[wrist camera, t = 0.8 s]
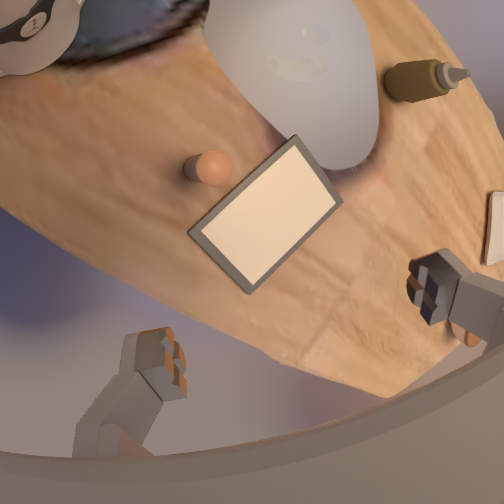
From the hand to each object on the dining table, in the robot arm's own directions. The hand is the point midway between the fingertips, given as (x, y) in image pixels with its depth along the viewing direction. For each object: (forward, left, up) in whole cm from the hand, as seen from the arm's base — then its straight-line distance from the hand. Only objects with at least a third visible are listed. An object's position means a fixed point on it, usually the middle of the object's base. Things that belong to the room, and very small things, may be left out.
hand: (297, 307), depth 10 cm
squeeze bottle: (+10, +45, -38) cm, 60 cm away
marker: (-1, +5, -38) cm, 38 cm away
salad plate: (+64, +63, -38) cm, 98 cm away
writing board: (+12, +9, -38) cm, 41 cm away
